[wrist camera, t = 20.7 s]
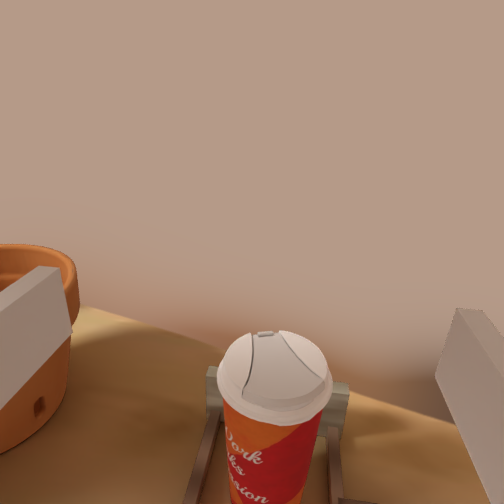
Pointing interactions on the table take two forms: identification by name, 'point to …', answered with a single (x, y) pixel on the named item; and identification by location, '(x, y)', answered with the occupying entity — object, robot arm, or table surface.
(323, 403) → the coffee cup
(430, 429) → the table surface
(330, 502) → the channel
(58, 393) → the flower pot
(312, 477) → the table surface
